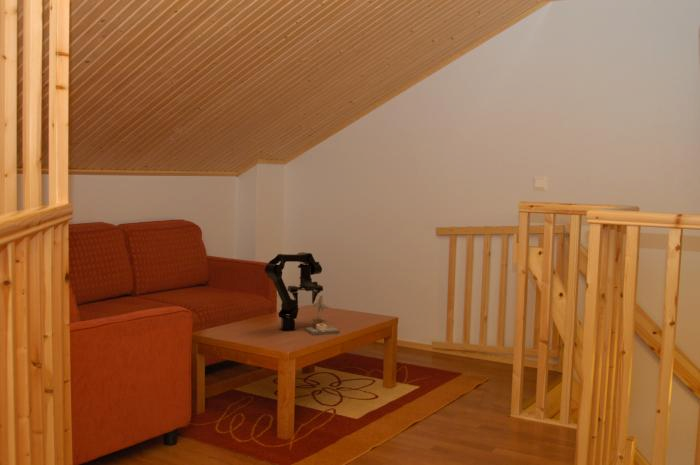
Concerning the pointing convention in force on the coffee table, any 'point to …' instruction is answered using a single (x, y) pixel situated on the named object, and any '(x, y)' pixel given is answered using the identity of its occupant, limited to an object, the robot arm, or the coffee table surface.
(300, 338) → the coffee table surface
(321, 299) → the figurine
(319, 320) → the wooden knobbed box
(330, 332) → the board
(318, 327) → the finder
